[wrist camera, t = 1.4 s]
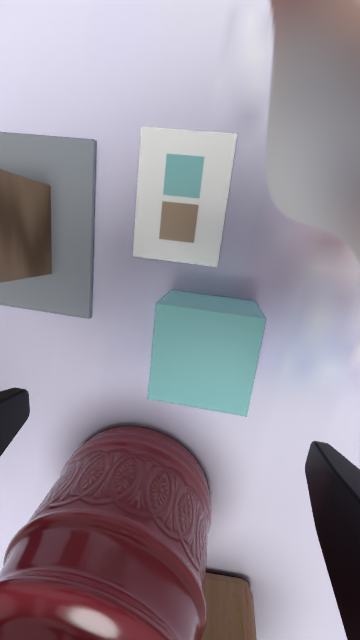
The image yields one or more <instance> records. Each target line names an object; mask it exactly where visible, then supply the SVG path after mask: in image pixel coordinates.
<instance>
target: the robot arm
mask: <svg viewBox="0 0 360 640" xmlns="http://www.w3.org/2000/svg"><path fill="white" fill-rule="evenodd" d="M29 413H30V407H29V393H28V391H27V390H26V389H20V388H11V389H8V390H4V391H0V456H1V455H2V453H3V452H4V451H5V449H6V448H7V447H8V445H9V444H10V442H11V441H12V440H13V438H14V437H15V435H16V434H17V433H18V431H19V430H20V428H21V427H22V426H23V424H24V423H25V422H26V420H27V419H28V417H29ZM305 473H306V479H307V484H308V490H309V495H310V501H311V506H312V512H313V517H314V522H315V527H316V531H317V535H318V539H319V542H320V546H321V549H322V553H323V556H324V560H325V563H326V567H327V570H328V574H329V577H330V580H331V584H332V587H333V591H334V594H335V598H336V601H337V605H338V608H339V612H340V615H341V619H342V622H343V625H344V629H345V632H346V636H347V639H348V640H360V469H358V468H357V467H356V466H355V465H354V464H352V463H351V462H350V461H349V460H348V459H346V458H345V457H344V456H343V455H341V454H340V453H339V452H338V451H337V450H335V449H334V448H333V447H332V446H331V445H329V444H328V443H324V442H318V441H313V442H312V443H311V445H310V449H309V452H308V456H307V460H306V464H305Z"/></svg>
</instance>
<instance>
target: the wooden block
mask: <svg viewBox="0 0 360 640" xmlns="http://www.w3.org/2000/svg"><path fill="white" fill-rule="evenodd" d="M204 597H205V601H206V608H207V619H206V626H205V630H204V633H203V636H202V638H201V640H256V629H255V617H254V605H253V595H252V592H251V590H250V587H249V585H248V582H246V581H245V580H243V579H241V578H235V577H229V576H223V575H217V574H211V573H206V574H205V593H204Z"/></svg>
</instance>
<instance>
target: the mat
mask: <svg viewBox="0 0 360 640" xmlns="http://www.w3.org/2000/svg"><path fill="white" fill-rule="evenodd" d="M0 169H2V170H5V171H8V172H11V173H14V174H17V175H20V176H23V177H26V178H29V179H32V180H35V181H37V182H40V183H43V184H46V185H49V186H51V252H52V274H48V275H43V276H37V277H31V278H25V279H19V280H13V281H7V282H2V283H0V305H6V306H12V307H18V308H25V309H31V310H37V311H44V312H50V313H57V314H63V315H69V316H76V317H82V318H88V319H89V318H91V317H92V280H93V243H94V206H95V169H96V141H95V140H94V139H82V138H69V137H57V136H44V135H32V134H20V133H7V132H0Z"/></svg>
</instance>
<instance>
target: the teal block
mask: <svg viewBox="0 0 360 640" xmlns="http://www.w3.org/2000/svg"><path fill="white" fill-rule="evenodd" d="M265 323H266V318H265V316H264V314H263V313H262V311H261V309H260V307H259V306H258V304H257V302H256V301H250V300H243V299H235V298H228V297H220V296H213V295H205V294H198V293H190V292H183V291H175V290H171V291H170V292H169V293H167V294H166V295H165V296H164V297H163V298H162V299H161V300H159V301H158V302H157V303H156V308H155V320H154V331H153V343H152V355H151V366H150V378H149V389H148V399H151V400H157V401H163V402H168V403H174V404H179V405H185V406H190V407H196V408H201V409H207V410H213V411H218V412H224V413H229V414H235V415H240V416H246V417H247V413H248V408H249V403H250V398H251V393H252V388H253V383H254V378H255V373H256V368H257V363H258V358H259V353H260V348H261V343H262V338H263V333H264V328H265Z"/></svg>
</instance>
